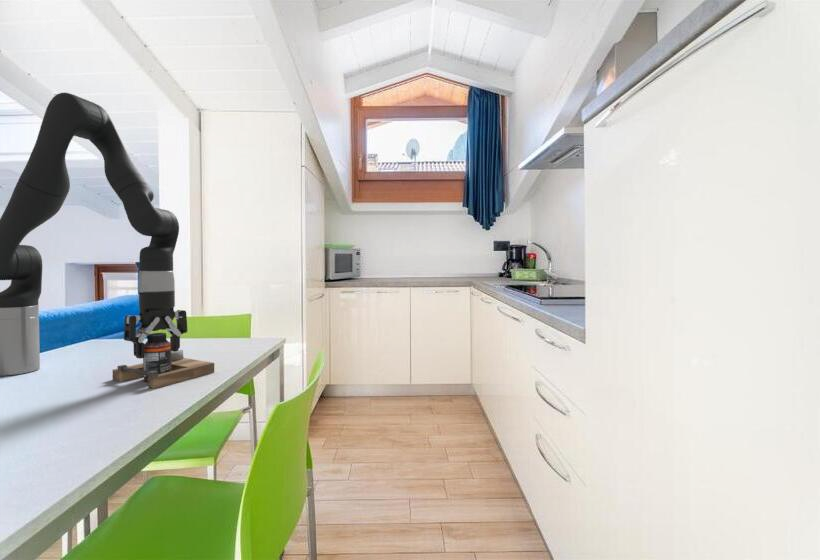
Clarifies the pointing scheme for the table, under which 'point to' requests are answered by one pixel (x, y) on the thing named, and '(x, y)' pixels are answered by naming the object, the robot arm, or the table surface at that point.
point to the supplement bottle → (157, 354)
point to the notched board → (179, 372)
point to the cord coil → (176, 355)
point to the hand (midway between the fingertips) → (157, 354)
